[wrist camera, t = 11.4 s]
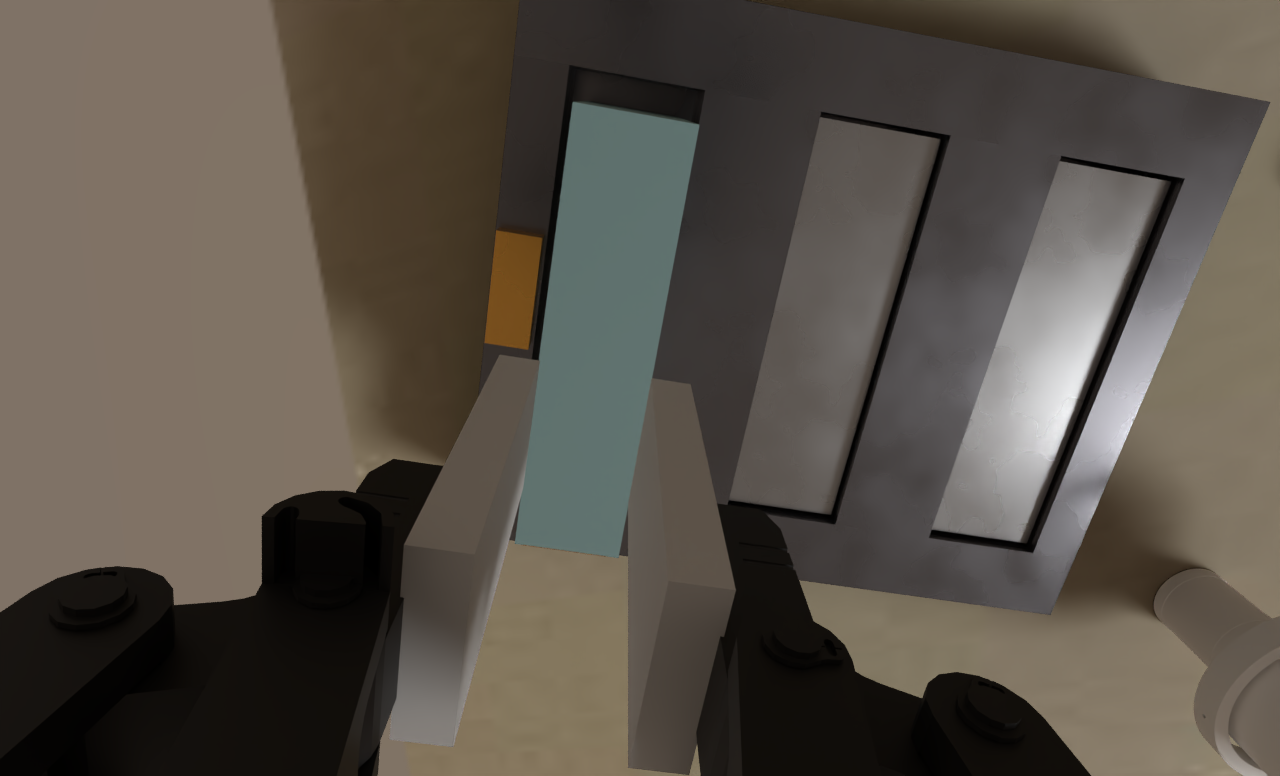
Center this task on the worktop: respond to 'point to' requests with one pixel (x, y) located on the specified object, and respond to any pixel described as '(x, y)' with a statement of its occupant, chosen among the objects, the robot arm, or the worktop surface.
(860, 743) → the robot arm
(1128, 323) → the rack
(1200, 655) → the white ringed cylinder
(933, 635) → the worktop surface
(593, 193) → the panel
